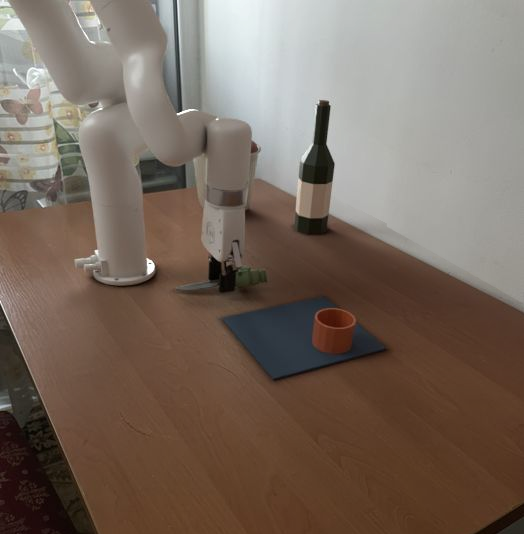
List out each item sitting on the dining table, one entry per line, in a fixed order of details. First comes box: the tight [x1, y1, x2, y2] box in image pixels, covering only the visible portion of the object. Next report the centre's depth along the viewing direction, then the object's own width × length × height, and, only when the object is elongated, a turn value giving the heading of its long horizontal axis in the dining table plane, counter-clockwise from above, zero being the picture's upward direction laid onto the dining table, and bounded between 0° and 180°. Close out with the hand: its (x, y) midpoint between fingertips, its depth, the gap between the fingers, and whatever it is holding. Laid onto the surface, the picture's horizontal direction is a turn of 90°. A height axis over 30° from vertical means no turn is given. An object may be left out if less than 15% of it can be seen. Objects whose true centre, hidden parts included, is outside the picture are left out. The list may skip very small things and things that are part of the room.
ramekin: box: [312, 307, 357, 354], centre depth 93 cm, size 7×7×5 cm
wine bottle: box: [293, 99, 336, 235], centre depth 131 cm, size 8×8×30 cm
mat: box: [221, 296, 387, 381], centre depth 97 cm, size 22×20×1 cm
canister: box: [192, 140, 262, 212], centre depth 142 cm, size 18×18×21 cm
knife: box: [173, 264, 268, 291], centre depth 108 cm, size 4×18×5 cm
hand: (221, 284), depth 107 cm, fingers closed on knife, 4 cm apart
